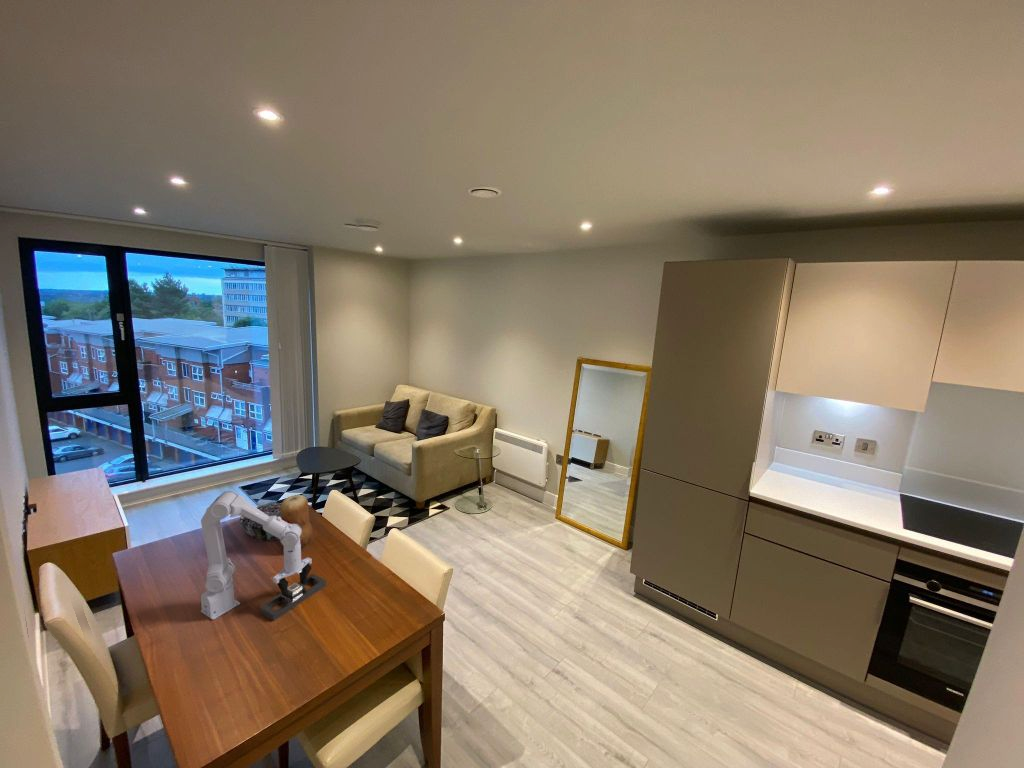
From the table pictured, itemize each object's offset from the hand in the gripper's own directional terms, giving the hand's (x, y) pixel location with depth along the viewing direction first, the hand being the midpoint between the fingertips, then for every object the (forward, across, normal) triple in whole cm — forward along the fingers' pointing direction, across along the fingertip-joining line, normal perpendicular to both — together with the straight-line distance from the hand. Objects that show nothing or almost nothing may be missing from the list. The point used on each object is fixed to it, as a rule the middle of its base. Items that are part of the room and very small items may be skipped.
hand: (294, 589), depth 157 cm
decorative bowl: (+5, +25, +52) cm, 58 cm away
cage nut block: (+4, 0, 0) cm, 4 cm away
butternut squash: (+4, +22, +29) cm, 37 cm away
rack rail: (+4, 0, 0) cm, 4 cm away
